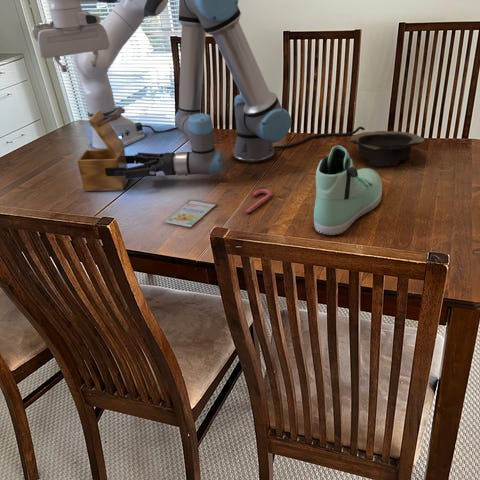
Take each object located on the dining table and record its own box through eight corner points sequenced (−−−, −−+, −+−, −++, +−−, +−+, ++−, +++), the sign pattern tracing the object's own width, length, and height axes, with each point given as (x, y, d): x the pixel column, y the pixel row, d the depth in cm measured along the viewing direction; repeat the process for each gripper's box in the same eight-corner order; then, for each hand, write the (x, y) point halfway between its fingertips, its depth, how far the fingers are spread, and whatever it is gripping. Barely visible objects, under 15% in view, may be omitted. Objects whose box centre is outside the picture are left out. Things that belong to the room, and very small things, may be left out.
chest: (84, 191, 161) (77, 160, 156) (92, 178, 169) (85, 149, 163) (123, 190, 161) (117, 159, 155) (129, 178, 169) (124, 148, 163)
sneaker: (389, 187, 148) (396, 123, 138) (356, 242, 123) (361, 168, 112) (346, 181, 154) (350, 119, 144) (306, 232, 129) (307, 161, 118)
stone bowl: (382, 177, 154) (383, 149, 150) (334, 159, 175) (334, 134, 170) (439, 158, 163) (441, 131, 159) (387, 143, 183) (387, 119, 179)
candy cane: (232, 210, 143) (232, 206, 142) (259, 190, 153) (259, 186, 152) (249, 215, 140) (248, 210, 139) (276, 194, 150) (275, 190, 149)
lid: (88, 120, 148) (110, 108, 146) (96, 111, 156) (117, 99, 153) (115, 158, 155) (137, 147, 152) (122, 147, 162) (143, 136, 160)
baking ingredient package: (164, 221, 138) (191, 199, 150) (164, 222, 139) (191, 201, 150) (190, 226, 135) (215, 203, 146) (190, 227, 135) (215, 205, 147)
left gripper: (31, 25, 132) (45, 76, 139) (105, 16, 139) (115, 65, 146) (29, 23, 137) (42, 73, 144) (100, 14, 144) (109, 62, 151)
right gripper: (170, 188, 151) (102, 190, 154) (183, 161, 170) (122, 163, 173) (167, 166, 147) (97, 168, 150) (180, 141, 166) (118, 143, 169)
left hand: (79, 69), depth 145 cm, fingers open, 8 cm apart
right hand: (110, 165), depth 161 cm, fingers closed on chest, 9 cm apart
